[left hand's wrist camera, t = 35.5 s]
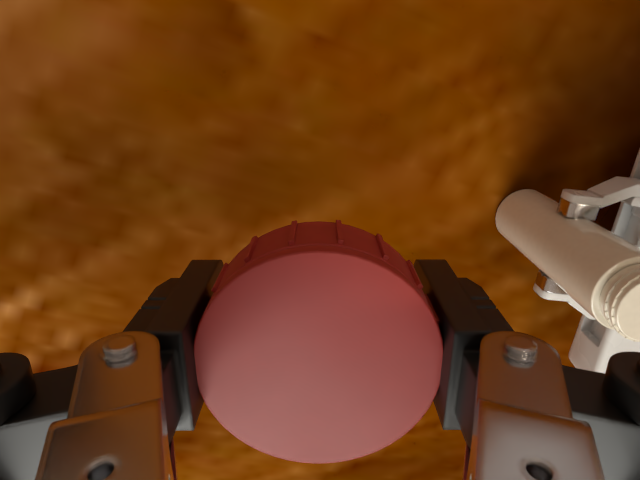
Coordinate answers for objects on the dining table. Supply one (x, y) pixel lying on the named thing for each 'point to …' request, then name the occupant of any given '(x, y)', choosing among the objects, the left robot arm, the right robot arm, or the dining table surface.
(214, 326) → the lid
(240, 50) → the dining table surface
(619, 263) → the beige cylinder
